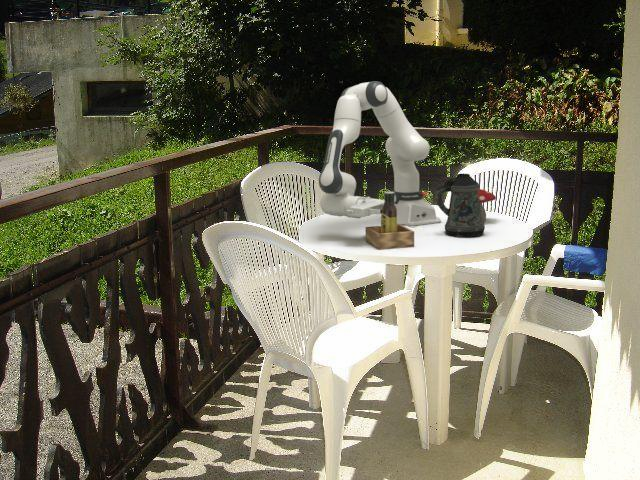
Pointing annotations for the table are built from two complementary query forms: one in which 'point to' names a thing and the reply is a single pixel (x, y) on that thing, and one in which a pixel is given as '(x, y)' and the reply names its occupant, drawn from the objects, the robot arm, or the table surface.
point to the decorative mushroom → (484, 197)
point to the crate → (389, 237)
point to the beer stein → (462, 207)
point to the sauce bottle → (389, 214)
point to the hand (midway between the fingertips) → (386, 210)
